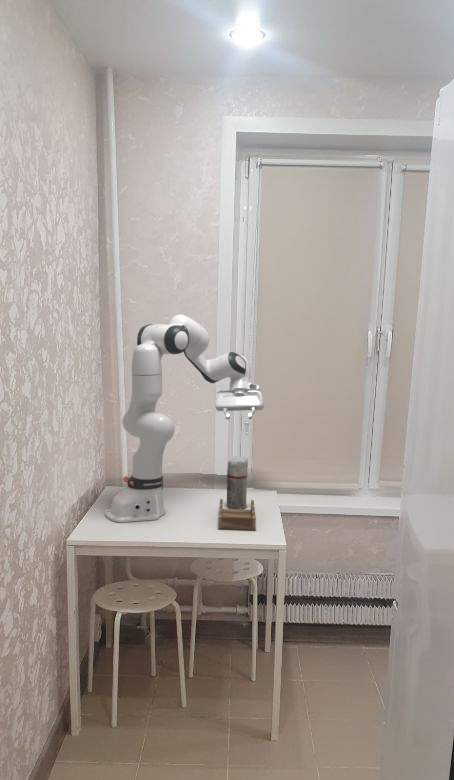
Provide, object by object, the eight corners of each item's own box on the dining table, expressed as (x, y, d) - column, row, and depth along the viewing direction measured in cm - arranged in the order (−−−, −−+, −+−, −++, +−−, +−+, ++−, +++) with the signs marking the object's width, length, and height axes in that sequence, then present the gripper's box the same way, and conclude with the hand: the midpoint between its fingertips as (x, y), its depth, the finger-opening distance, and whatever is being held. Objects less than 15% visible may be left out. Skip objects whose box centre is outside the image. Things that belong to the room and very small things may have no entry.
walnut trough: (219, 510, 234) (220, 498, 233) (253, 511, 234) (253, 499, 233) (218, 529, 212) (218, 517, 211) (255, 530, 212) (255, 518, 211)
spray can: (246, 510, 234) (248, 460, 232) (225, 509, 235) (227, 459, 232) (246, 503, 243) (248, 455, 241) (226, 503, 243) (227, 454, 241)
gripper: (214, 386, 255) (213, 415, 247) (263, 385, 253) (262, 413, 245) (216, 395, 260) (215, 422, 253) (264, 393, 258) (263, 421, 250)
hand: (239, 418), depth 249 cm, fingers open, 8 cm apart
